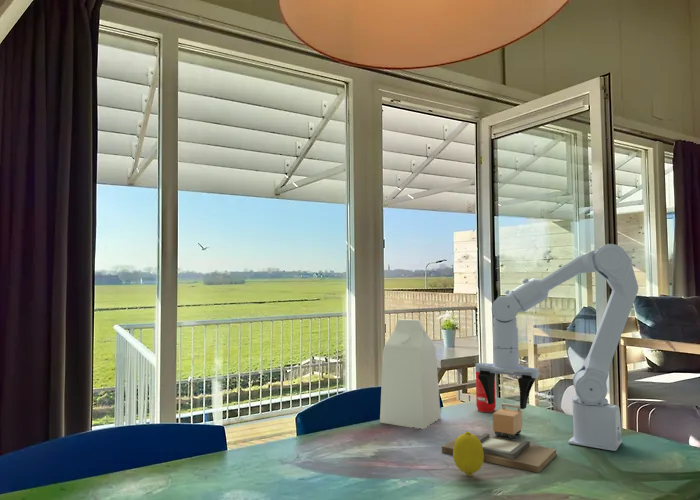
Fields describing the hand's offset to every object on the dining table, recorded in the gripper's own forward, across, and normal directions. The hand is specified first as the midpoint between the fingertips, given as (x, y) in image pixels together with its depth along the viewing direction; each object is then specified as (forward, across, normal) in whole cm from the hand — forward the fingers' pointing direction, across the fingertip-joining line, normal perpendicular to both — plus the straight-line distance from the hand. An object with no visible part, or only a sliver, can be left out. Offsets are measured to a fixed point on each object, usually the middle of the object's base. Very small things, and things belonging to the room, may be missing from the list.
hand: (506, 405), depth 120 cm
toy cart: (+7, 0, 0) cm, 7 cm away
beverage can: (+7, -13, +19) cm, 24 cm away
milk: (+7, -25, -2) cm, 26 cm away
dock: (+7, +3, -14) cm, 16 cm away
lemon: (+7, +3, -29) cm, 30 cm away
